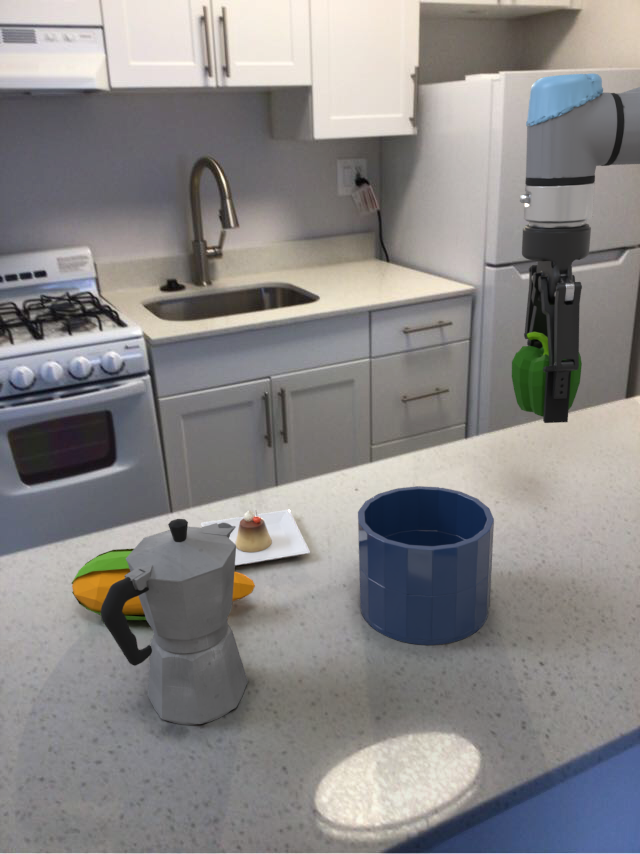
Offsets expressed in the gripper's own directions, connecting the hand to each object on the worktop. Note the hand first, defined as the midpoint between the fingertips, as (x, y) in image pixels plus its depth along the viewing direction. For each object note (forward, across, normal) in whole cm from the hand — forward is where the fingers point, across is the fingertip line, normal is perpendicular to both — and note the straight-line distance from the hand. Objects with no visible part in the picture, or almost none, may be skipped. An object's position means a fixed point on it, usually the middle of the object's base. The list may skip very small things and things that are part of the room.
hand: (545, 408), depth 95 cm
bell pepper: (+1, 0, 0) cm, 1 cm away
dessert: (+15, +6, -38) cm, 41 cm away
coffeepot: (+15, +34, -40) cm, 55 cm away
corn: (+15, +20, -46) cm, 52 cm away
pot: (+15, +20, -17) cm, 30 cm away
